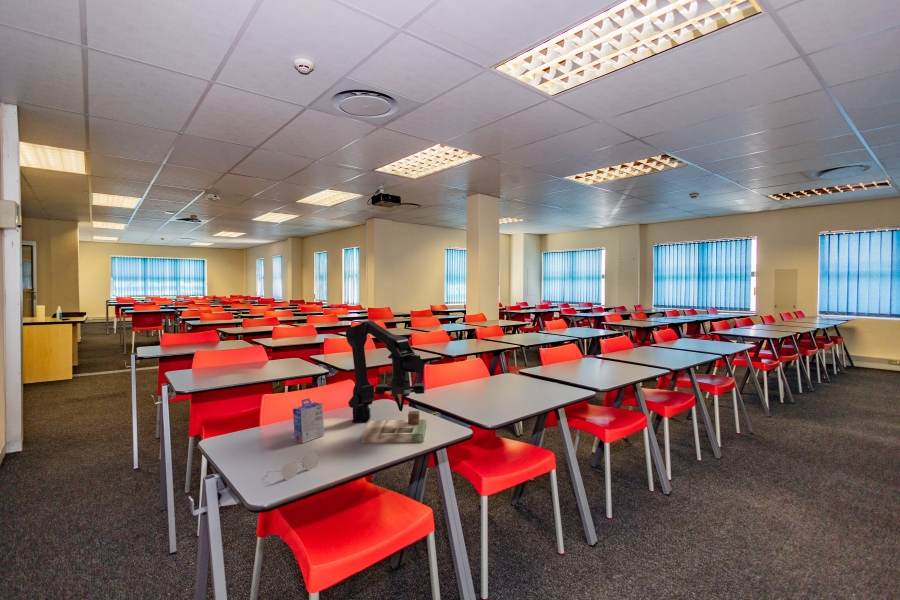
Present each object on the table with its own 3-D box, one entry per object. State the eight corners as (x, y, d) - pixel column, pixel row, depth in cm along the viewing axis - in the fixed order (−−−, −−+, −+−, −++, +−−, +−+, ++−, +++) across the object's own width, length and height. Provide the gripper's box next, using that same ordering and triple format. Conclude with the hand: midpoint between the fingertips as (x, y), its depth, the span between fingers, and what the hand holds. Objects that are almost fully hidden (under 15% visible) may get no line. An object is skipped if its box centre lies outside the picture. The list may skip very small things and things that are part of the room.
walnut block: (408, 424, 161) (407, 414, 161) (409, 421, 165) (409, 411, 165) (418, 424, 161) (418, 414, 161) (419, 421, 165) (419, 410, 165)
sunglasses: (281, 484, 121) (279, 466, 122) (265, 482, 126) (262, 465, 126) (320, 466, 133) (318, 450, 133) (304, 465, 138) (302, 449, 138)
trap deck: (362, 443, 151) (361, 434, 151) (370, 428, 167) (370, 420, 167) (423, 441, 151) (423, 433, 151) (426, 426, 167) (426, 419, 167)
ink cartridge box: (315, 432, 163) (314, 395, 163) (324, 435, 160) (323, 397, 159) (293, 440, 155) (291, 401, 154) (302, 443, 152) (301, 403, 151)
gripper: (371, 375, 154) (372, 418, 154) (422, 374, 154) (423, 417, 154) (376, 369, 165) (378, 409, 166) (424, 368, 165) (425, 408, 165)
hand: (400, 411), depth 162 cm, fingers closed
